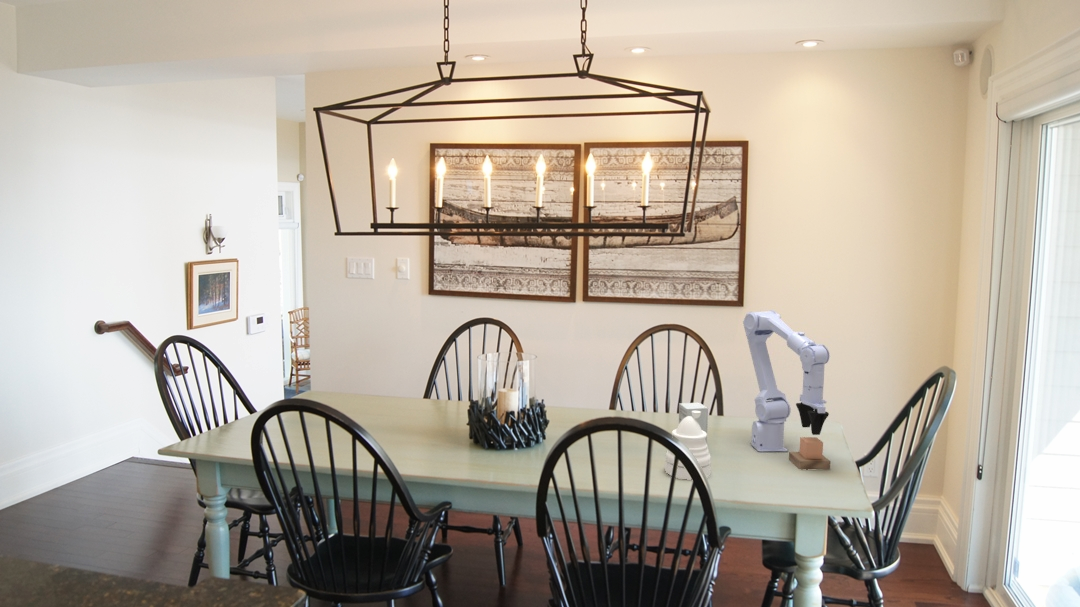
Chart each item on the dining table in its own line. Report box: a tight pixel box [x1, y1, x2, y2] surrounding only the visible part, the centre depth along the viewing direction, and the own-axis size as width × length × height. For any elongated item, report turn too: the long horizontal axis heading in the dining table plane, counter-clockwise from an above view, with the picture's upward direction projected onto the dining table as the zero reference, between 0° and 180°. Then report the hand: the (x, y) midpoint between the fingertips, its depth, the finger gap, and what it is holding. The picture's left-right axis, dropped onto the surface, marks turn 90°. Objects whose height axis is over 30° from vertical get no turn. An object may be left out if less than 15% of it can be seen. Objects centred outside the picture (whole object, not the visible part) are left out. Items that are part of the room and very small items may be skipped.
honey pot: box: [664, 411, 712, 481], centre depth 220 cm, size 13×13×18 cm
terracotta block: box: [798, 436, 824, 459], centre depth 227 cm, size 5×5×5 cm
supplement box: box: [678, 402, 709, 444], centre depth 248 cm, size 7×7×13 cm
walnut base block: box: [788, 451, 831, 471], centre depth 228 cm, size 9×9×3 cm
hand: (810, 430), depth 227 cm, fingers open, 7 cm apart
